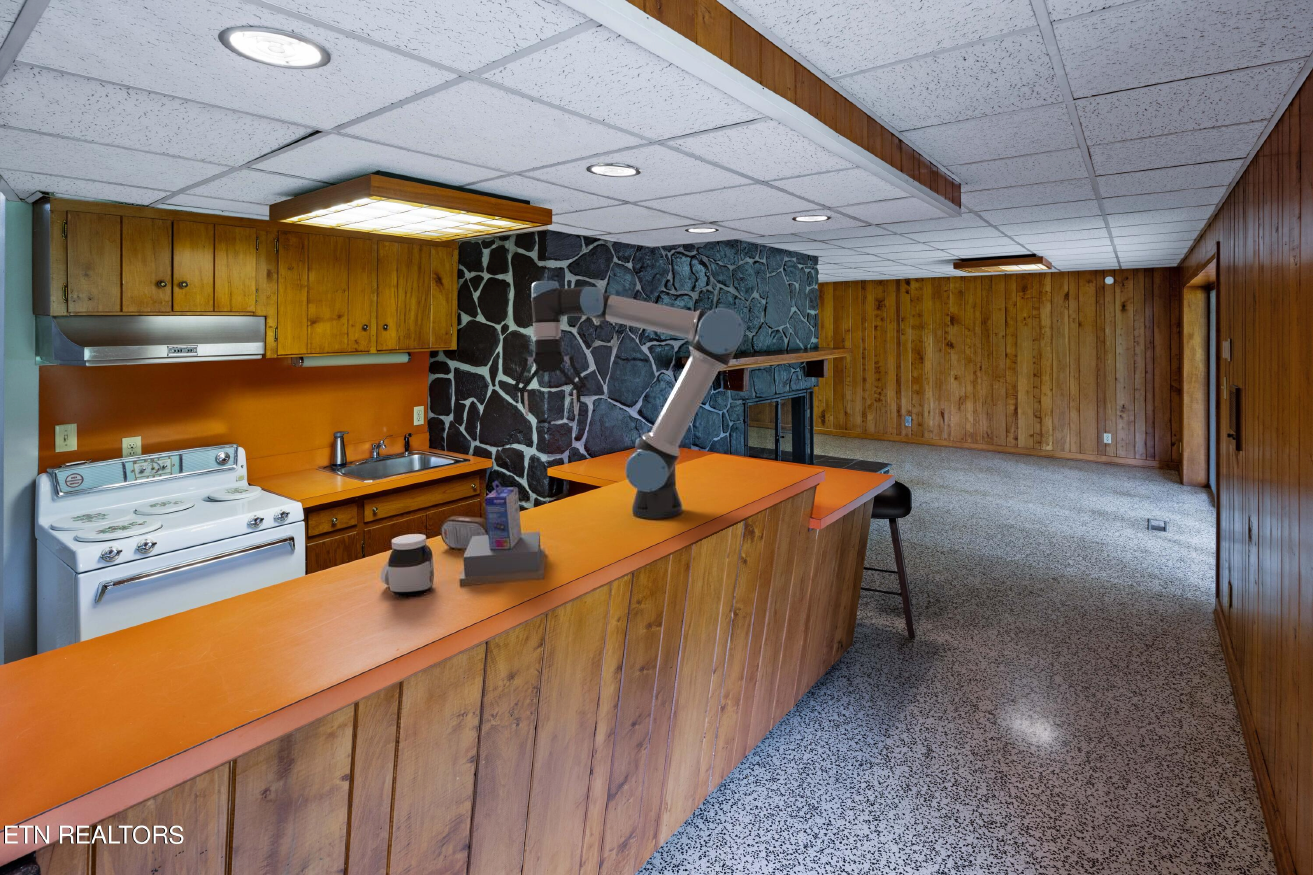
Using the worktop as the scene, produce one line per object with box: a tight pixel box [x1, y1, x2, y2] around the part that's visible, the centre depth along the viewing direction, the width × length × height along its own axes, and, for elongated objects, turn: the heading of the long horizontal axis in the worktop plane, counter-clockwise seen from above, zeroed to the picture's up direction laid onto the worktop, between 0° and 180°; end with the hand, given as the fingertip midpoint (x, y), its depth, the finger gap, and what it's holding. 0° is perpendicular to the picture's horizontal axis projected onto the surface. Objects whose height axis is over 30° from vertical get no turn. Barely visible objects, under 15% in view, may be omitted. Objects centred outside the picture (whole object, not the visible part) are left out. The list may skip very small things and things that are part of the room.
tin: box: [439, 515, 488, 551], centre depth 168 cm, size 15×3×8 cm, turn 70°
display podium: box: [459, 531, 546, 586], centre depth 152 cm, size 18×18×6 cm
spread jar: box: [380, 533, 435, 599], centre depth 140 cm, size 12×11×12 cm
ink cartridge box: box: [484, 480, 522, 549], centre depth 151 cm, size 10×6×14 cm, turn 178°
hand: (551, 414), depth 185 cm, fingers open, 13 cm apart
